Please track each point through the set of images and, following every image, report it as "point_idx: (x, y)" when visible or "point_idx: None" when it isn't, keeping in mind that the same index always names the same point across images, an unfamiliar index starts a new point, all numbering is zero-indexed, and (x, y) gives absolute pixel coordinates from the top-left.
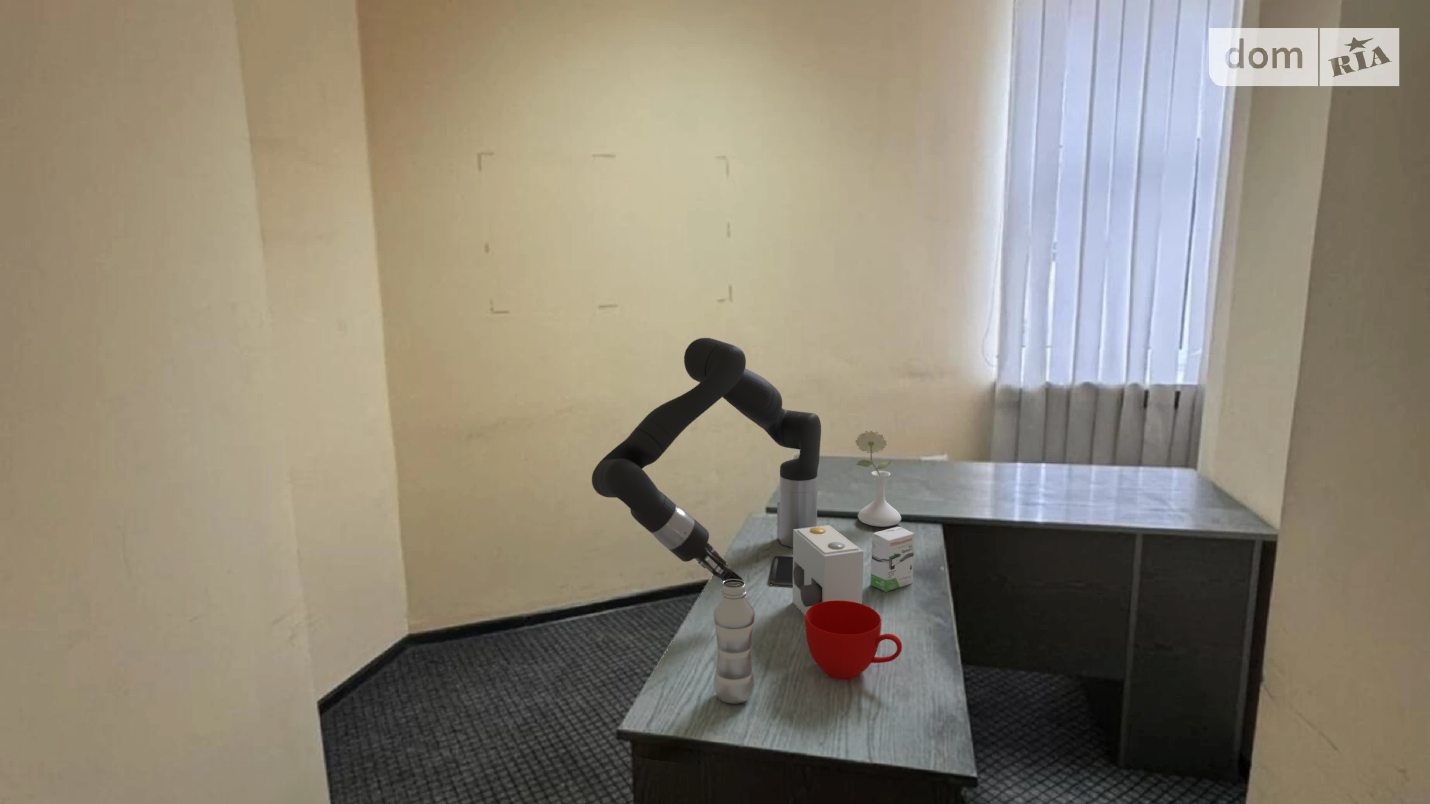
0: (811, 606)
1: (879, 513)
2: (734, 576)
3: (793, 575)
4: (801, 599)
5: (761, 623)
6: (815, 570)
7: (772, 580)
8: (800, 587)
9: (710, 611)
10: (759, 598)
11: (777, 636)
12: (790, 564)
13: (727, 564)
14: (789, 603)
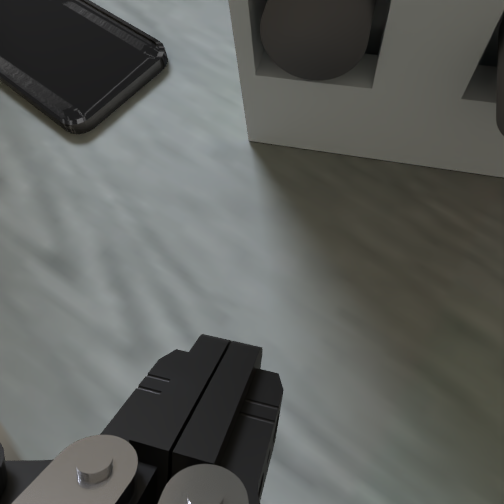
0: (457, 118)
1: None
2: (265, 460)
3: (263, 41)
4: (500, 131)
5: (343, 336)
6: None
7: (69, 115)
8: None
9: None
10: (143, 222)
11: (491, 343)
12: (21, 18)
13: (94, 476)
14: (248, 153)
